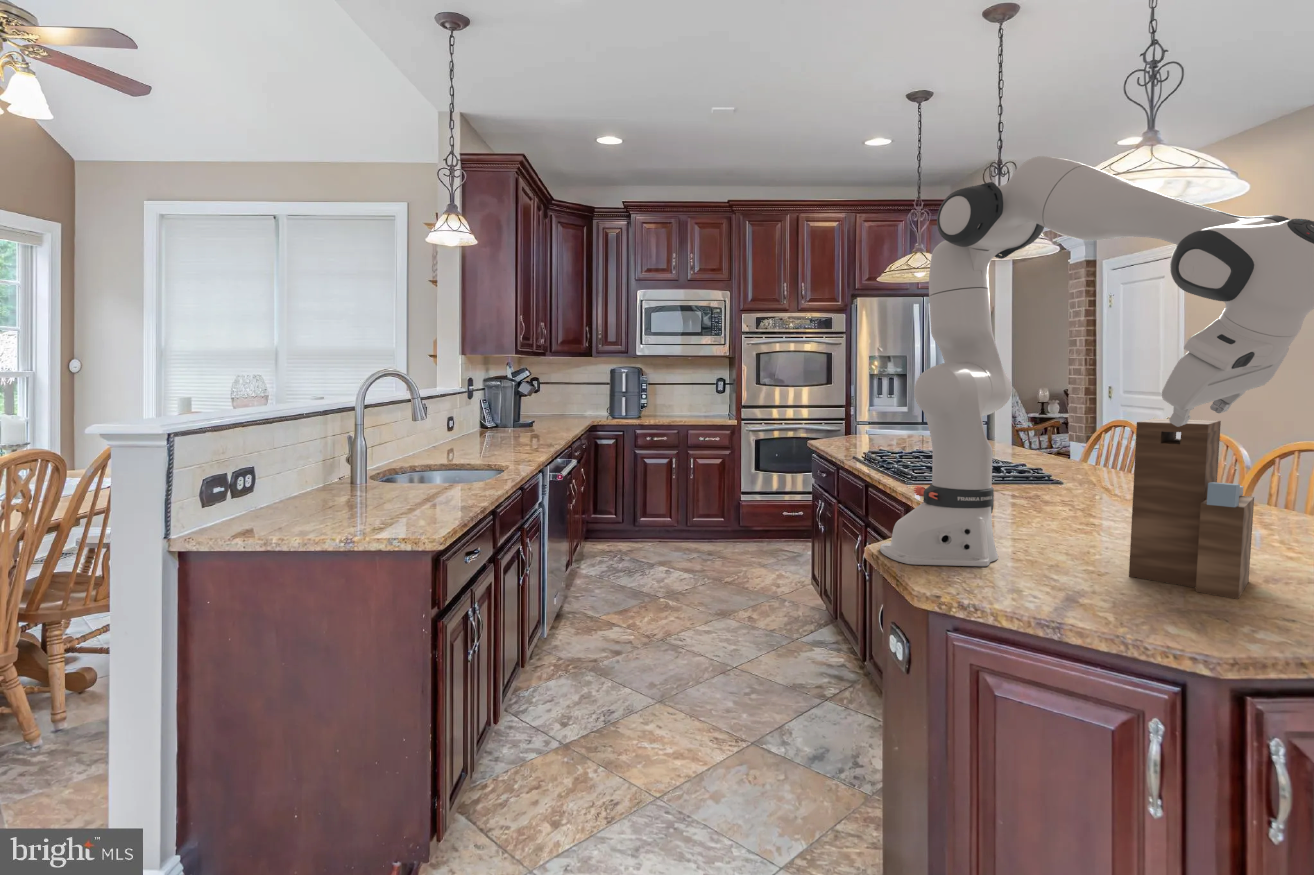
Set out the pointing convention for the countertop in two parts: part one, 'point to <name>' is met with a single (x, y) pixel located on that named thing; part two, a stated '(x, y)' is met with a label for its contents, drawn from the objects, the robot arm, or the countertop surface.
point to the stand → (1186, 512)
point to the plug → (1224, 494)
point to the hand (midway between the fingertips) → (1197, 417)
